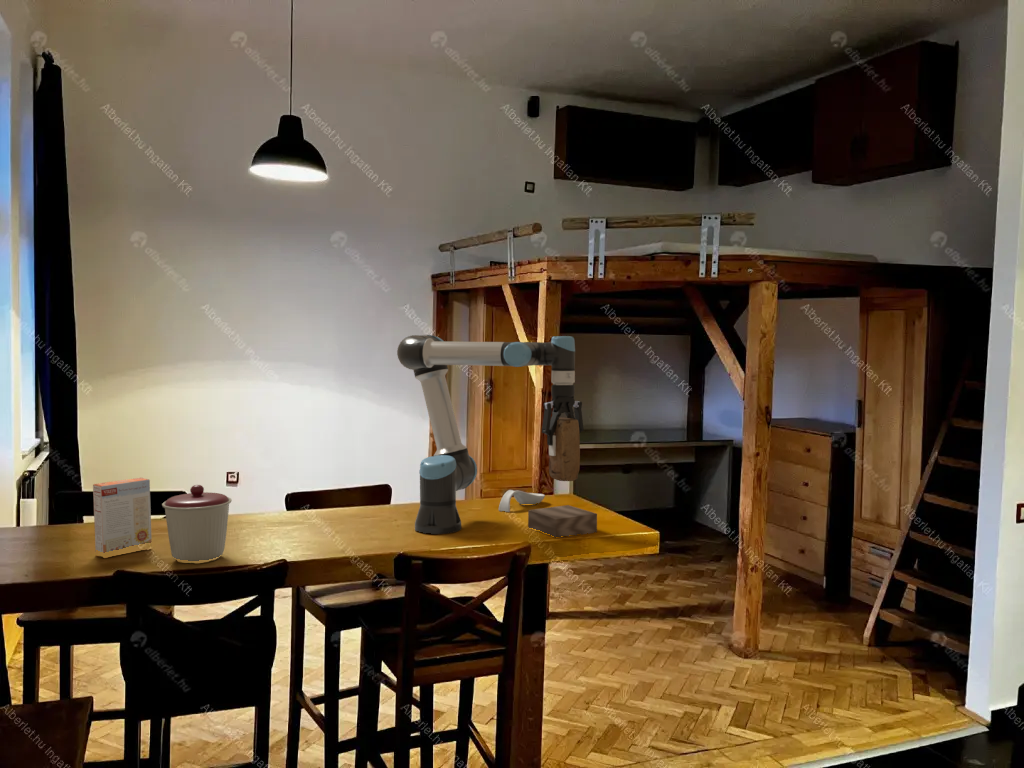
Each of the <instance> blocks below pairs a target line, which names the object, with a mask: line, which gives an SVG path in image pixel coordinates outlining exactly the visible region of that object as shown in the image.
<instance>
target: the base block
mask: <svg viewBox="0 0 1024 768" xmlns="http://www.w3.org/2000/svg"><path fill="white" fill-rule="evenodd" d="M527 512H528V514H527V519H528V521H527V522H528V524H527V528H528V527H529V528H533V529H536V530H540V531H542V532H544V533H547V534H550V535H552V536H554V537H561V536H568V537H570V536H569V535H575V536H578V535H577V534H581V535H587V533H588V534H594V532H595V533H597V532H598V513H595V512H594V511H593V512H592V511H591V510H590V511H589V510H585V509H582V508H579V507H576V506H572V505H569V504H567V505H560V506H559V505H558V506H551V507H544V508H535V509H529V510H527ZM529 528H528V529H529ZM554 537H553V538H554ZM561 538H562V537H561Z"/></svg>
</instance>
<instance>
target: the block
mask: <svg viewBox="0 0 1024 768" xmlns="http://www.w3.org/2000/svg"><path fill="white" fill-rule="evenodd" d="M554 435H555V436H556V456H551V455H549V454H548V457H549V459H548V473H549V476H550V478H552V479H554V480H556V481H559V482H560V481H561V482H575V480H577V479H578V478H579V477H578V476H579V472H580V467H581V466H580V465H581V462H580V461H581V455H580V454H581V446H580V445H581V444H580V439H581V438H580V434H579V423H578V420H577V419H573V418H567V416H566V417H559V419H558V420H557V426H556V429H555V432H554ZM547 449H548V453H549V445H548V444H547Z"/></svg>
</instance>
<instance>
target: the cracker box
mask: <svg viewBox="0 0 1024 768" xmlns="http://www.w3.org/2000/svg"><path fill="white" fill-rule="evenodd" d="M150 481H151V480H150V479H148V478H143V477H136V478H129V479H121V480H112V481H107V482H100V483H94V484H92V494H93V518H94V520H93V521H94V543H95V544H94V545H95V547H94V548H95V551H96V550H98V551H100V552H103V553H105V552H109V551H113V550H119V549H123V548H126V547H129V546H134V545H139V544H145V543H151V542H152V518H151V517H152V515H151V512H152V511H151V510H152V509H151V507H152V506H151V487H150V486H151V484H150Z"/></svg>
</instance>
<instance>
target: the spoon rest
mask: <svg viewBox="0 0 1024 768" xmlns="http://www.w3.org/2000/svg"><path fill="white" fill-rule="evenodd" d="M512 497H514V499H515V501H516V502H517V503H519V505H521V504H536V503H538V504H539V503H541V502H542V501H543V500H544V498H545V497H546V495H545V494H543V493H536V492H534V493H533V492H526V491H522V490H517V489H516V490H513V489H508V490H507V491H506V492H504V494H503V495H502V497H501V499H500V502H499V506H498V511H499V512H502V511H505V512H504V513H511V499H512Z"/></svg>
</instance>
